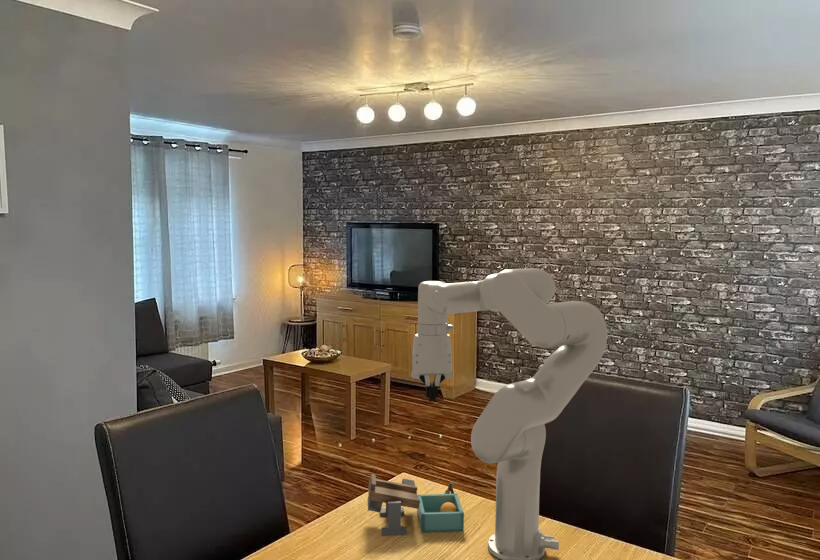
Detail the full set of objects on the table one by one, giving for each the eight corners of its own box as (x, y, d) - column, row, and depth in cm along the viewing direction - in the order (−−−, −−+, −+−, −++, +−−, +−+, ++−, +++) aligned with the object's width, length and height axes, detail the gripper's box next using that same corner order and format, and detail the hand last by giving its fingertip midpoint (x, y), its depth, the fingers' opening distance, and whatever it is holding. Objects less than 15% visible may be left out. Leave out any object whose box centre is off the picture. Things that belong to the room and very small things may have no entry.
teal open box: (456, 510, 158) (456, 493, 157) (463, 531, 147) (463, 513, 147) (417, 512, 157) (417, 494, 157) (421, 532, 147) (421, 514, 146)
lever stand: (403, 510, 158) (403, 481, 157) (407, 535, 145) (407, 503, 145) (379, 511, 157) (379, 482, 157) (381, 535, 145) (381, 504, 144)
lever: (410, 495, 161) (416, 471, 161) (415, 520, 148) (421, 494, 147) (365, 486, 160) (370, 462, 160) (365, 511, 146) (371, 485, 146)
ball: (434, 509, 153) (445, 521, 154) (440, 513, 149) (451, 524, 150) (445, 497, 154) (455, 508, 155) (452, 500, 151) (462, 512, 151)
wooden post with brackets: (458, 493, 166) (455, 480, 164) (445, 516, 160) (442, 503, 158) (451, 491, 167) (449, 479, 165) (439, 514, 161) (436, 501, 159)
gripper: (459, 327, 163) (458, 395, 165) (402, 327, 162) (401, 396, 164) (464, 332, 156) (462, 403, 158) (404, 332, 155) (403, 404, 156)
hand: (431, 399), depth 161 cm, fingers closed
